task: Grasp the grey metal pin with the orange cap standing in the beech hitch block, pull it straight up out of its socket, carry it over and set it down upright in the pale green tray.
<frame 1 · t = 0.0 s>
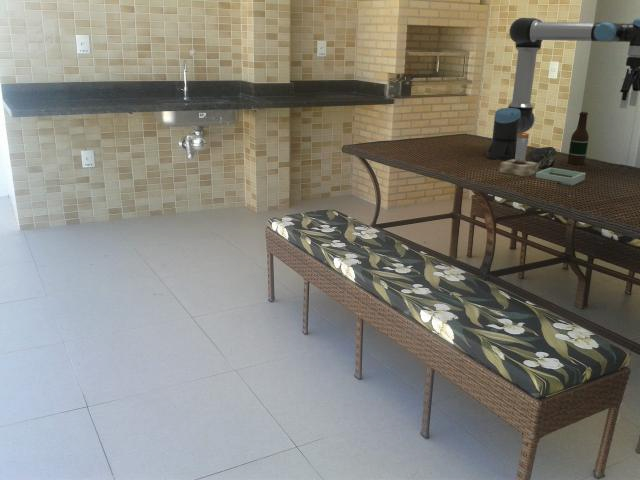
hand: (627, 107, 269), 28 cm above the table, fingers open, 13 cm apart
tray: (559, 179, 255), on the table
rock: (540, 169, 275), on the table
hitch block: (518, 174, 263), on the table
beer bottle: (575, 163, 289), on the table
pin: (518, 172, 263), point 1 cm above the table, touching hitch block
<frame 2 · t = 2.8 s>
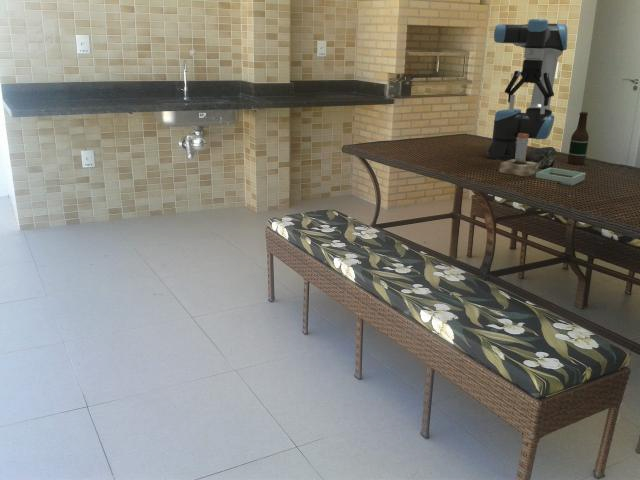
hand: (526, 112, 254), 26 cm above the table, fingers open, 13 cm apart
nothing on the table moved.
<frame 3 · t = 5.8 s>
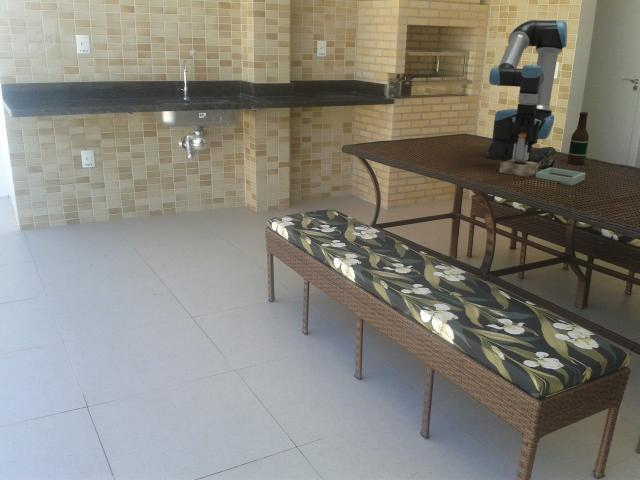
hand: (520, 159, 261), 7 cm above the table, fingers closed on pin, 4 cm apart
pin: (518, 172, 263), point 1 cm above the table, touching gripper, hitch block
everything else where it was.
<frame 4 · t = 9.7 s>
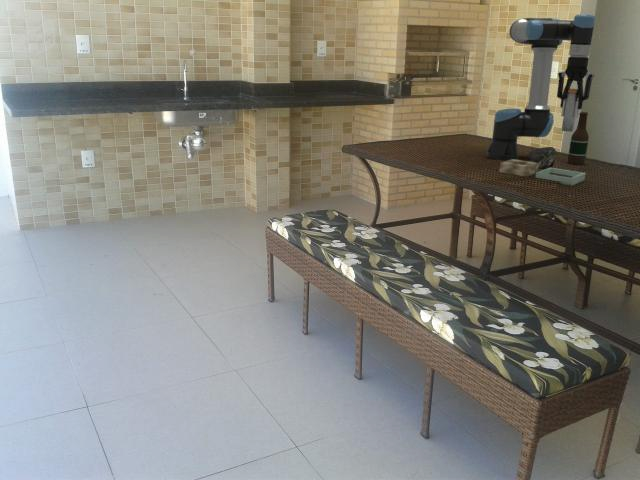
hand: (569, 116, 246), 26 cm above the table, fingers closed on pin, 4 cm apart
pin: (567, 130, 248), point 20 cm above the table, touching gripper
everything else where it was.
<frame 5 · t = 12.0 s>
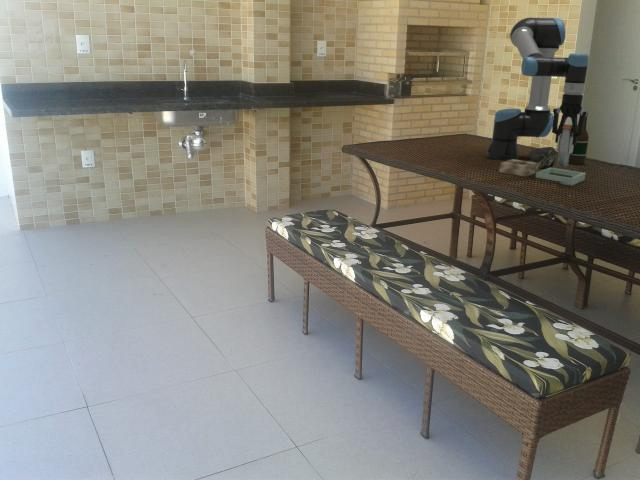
hand: (564, 151, 251), 12 cm above the table, fingers closed on pin, 4 cm apart
pin: (562, 165, 252), point 6 cm above the table, touching gripper
everything else where it was.
when the fingers open (7 cm above the table, at t = 13.8 s): pin stays where it is, resting on tray.
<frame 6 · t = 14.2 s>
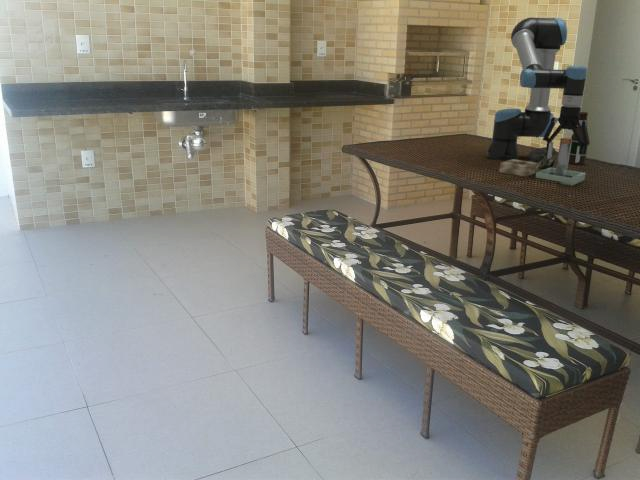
hand: (562, 160, 252), 8 cm above the table, fingers open, 11 cm apart
pin: (560, 178, 254), point 1 cm above the table, touching tray
everything else where it was.
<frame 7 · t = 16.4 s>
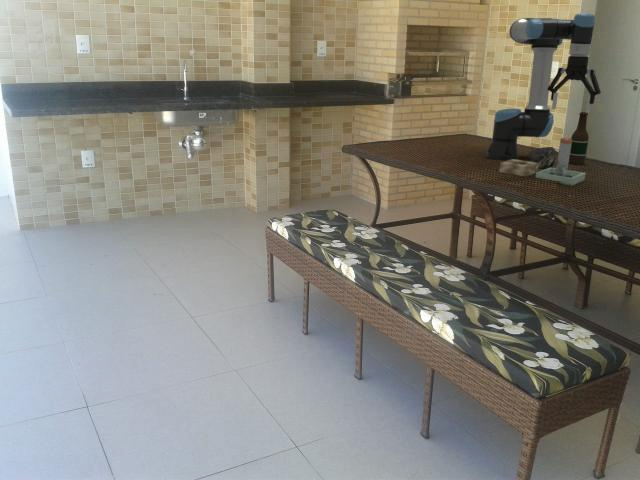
hand: (570, 110, 246), 28 cm above the table, fingers open, 13 cm apart
nothing on the table moved.
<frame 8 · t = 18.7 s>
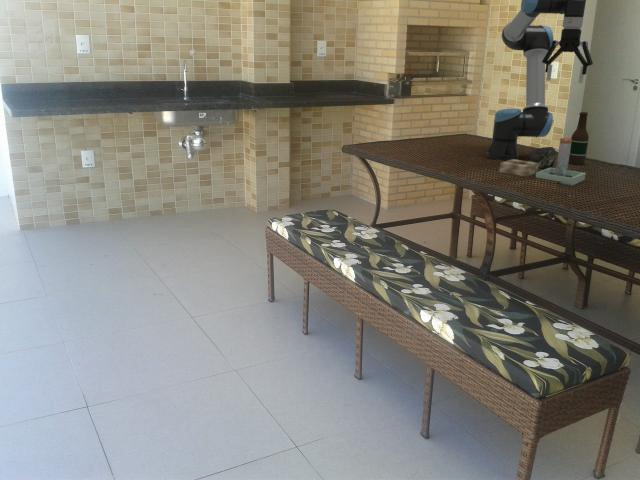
hand: (564, 81, 257), 39 cm above the table, fingers open, 13 cm apart
nothing on the table moved.
at the end: pin inside the target area on the tray (0.0 cm from its centre), point 0.6 cm above the tray's base; pin tilted 0°; pin touching tray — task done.
